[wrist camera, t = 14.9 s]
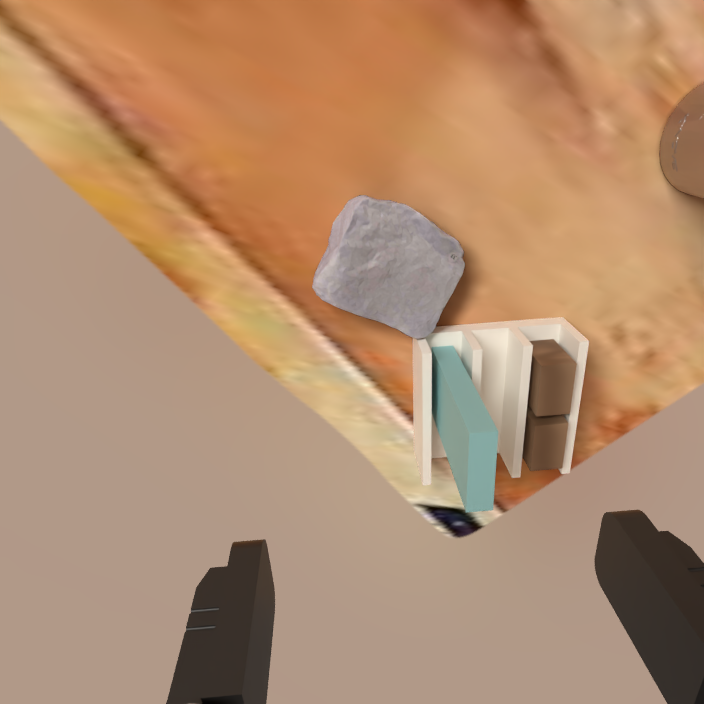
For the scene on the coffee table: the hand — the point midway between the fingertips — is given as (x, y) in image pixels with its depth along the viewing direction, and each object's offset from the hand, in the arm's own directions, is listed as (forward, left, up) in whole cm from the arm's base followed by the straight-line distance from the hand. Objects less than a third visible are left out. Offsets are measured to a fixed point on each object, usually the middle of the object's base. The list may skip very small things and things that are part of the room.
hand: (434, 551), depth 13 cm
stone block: (-3, +3, -37) cm, 37 cm away
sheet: (-7, +15, -35) cm, 38 cm away
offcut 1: (-16, +14, -35) cm, 41 cm away
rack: (-12, +17, -36) cm, 42 cm away
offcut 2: (-16, +20, -35) cm, 43 cm away
